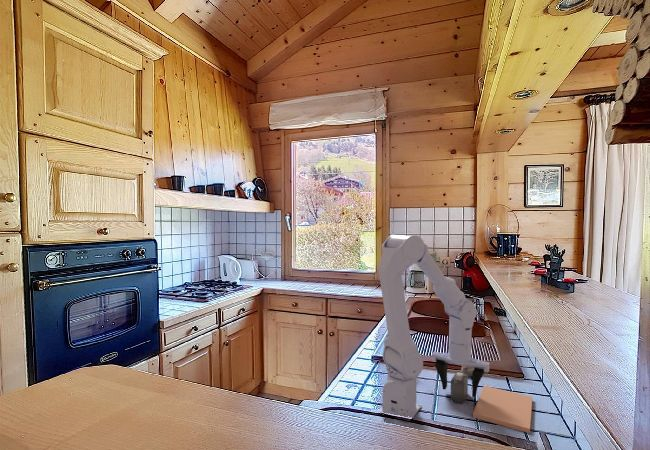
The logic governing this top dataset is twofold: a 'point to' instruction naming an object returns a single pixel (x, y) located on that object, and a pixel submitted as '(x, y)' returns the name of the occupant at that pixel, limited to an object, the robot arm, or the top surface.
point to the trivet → (504, 408)
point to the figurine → (467, 370)
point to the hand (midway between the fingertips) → (459, 391)
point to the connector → (459, 388)
